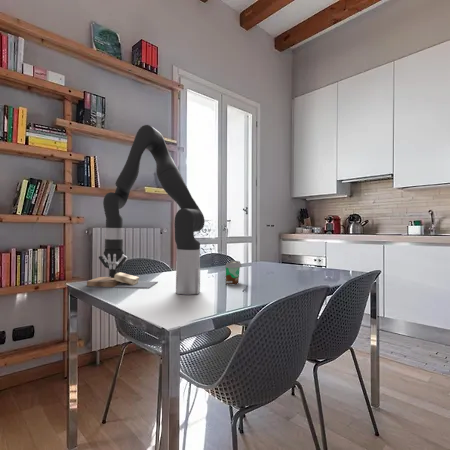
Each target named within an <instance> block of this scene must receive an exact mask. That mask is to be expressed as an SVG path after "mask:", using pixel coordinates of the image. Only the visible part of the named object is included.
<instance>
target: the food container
mask: <svg viewBox="0 0 450 450" xmlns="http://www.w3.org/2000/svg"><path fill="white" fill-rule="evenodd" d="M241 267H242V262H241V261H239V260H230V262H226V263H225V285H226V284H235V285H238V284H239V278H240V271H241V270H240V269H241ZM237 283H238V284H237Z"/></svg>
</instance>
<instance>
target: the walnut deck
mask: <svg viewBox="0 0 450 450" xmlns="http://www.w3.org/2000/svg"><path fill="white" fill-rule="evenodd" d="M121 283H123V282H120V281H116V280H114V278H111V276H98V277H95V278H93V279H89V280H87V281H86V287H100V288H101V287H105V288H116V287H115V286H117V285H119V284H121Z"/></svg>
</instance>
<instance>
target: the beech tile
mask: <svg viewBox="0 0 450 450" xmlns="http://www.w3.org/2000/svg"><path fill="white" fill-rule="evenodd" d="M139 279H140V277H139V276H136V275H132V274H128V273H125V272H117V274H115V276H114V280H116V281H120V282H123V283H127V284H131V285H135V284H136V283H138V281H140V280H139Z"/></svg>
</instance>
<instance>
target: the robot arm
mask: <svg viewBox="0 0 450 450" xmlns="http://www.w3.org/2000/svg"><path fill="white" fill-rule="evenodd" d="M146 149H147V150H148V151H149V153H150V154H151V155H152V158H153V159H154V161H155V166H156V168H155V169H156V177H157V179H158V182H159V184H160V185H161V187H162V188H163V191H165V193H166V194H167V195H168V196H169V197H170V198H171V199H172V200H173V201H174V202H175V203H176V204H177V205H178V207H179V208H180V209H179V210H178V211H177V212H176V213H175V216H174V222H173V224H174V242H175V244H176V262H175V263H176V264H175V266H176V267H175V268H176V270H175V272H176V273H175V275H176V276H175V294H178V295H186V296H187V295H189V296H191V295H198V294H199V293H200V291H201V266H200V265H201V243H200V241H199V240H197V239H196V238H195V232H200V231H202V230H203V228H204V226H205V216H204V214H203V212H202V210H201V209H200V207H199V205H198V204H197V203H196V201H195V199H194V198H193V196H192V194H191V193H190V191H189V188H188V186H187V185H186V183H185V181H184V179H183V178H184V177H183V176H182V174H181V171H180V170H179V169H178V166H177V165H176V163H175V161H174V159H173V158H172V156H171V154H170V151H169V149H168V146H167V143H166V141H165V137H164V136H163V134H162V133H161V132H160V131H158V130H157V129H156V128H154V127H153V126H152V125H149V124H144V125H142V126H140V128H139V129H138V130H137V132H136V134H135V137H134V139H133V143H132V144H131V147H130V150H129V153H128V156H127V158H126V162H125V164H124V166H123V168H122V170H121V172H119V173H120V174H119V175H118V177H117V179H116V180H115V184H114V185H115V186H116V188H115V191H114V192H111V191H110V192H108V193H106V194H105V195H104V197H103V201H102V203H103V211H104V215H105V231H104V252H103V254H102V255H100V256H98V260H100V262H101V263H102V265H103V266H104V267H105V268H107V269H108V270H109V274H108V275H109V277H111V278H114V276H115V274H117V273H118V269H119V268H122V266H124V264H125V263H126V262H127V261H128V259H129V257H128V256H127V255H125V254H124V250H123V248H124V245H123V244H124V241H123V240H124V231H123V228H124V227H123V223H124V221H123V218H124V217H123V215H121V214H120V210H121V209H122V208H123V207H124V206H125V205H126V203H127V202H128V198H129V197H130V194H131V190H132V188H133V187H134V184H135V182H136V181H137V178H138V176H139V174H140V167H141V166H140V164H141V159H142V156H143V154H144V152H145V150H146Z"/></svg>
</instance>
